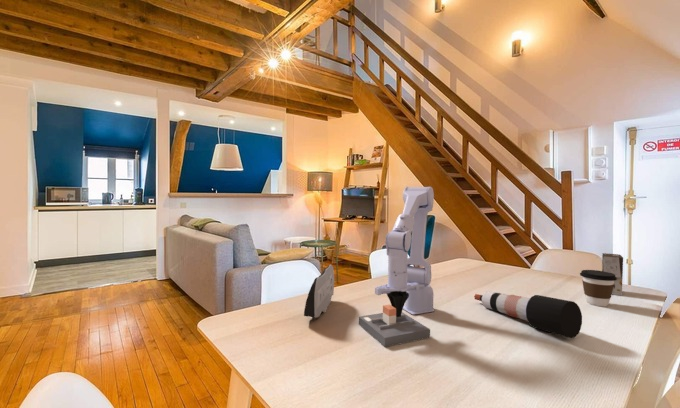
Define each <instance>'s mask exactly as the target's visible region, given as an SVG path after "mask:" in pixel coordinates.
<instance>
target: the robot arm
mask: <svg viewBox="0 0 680 408" xmlns="http://www.w3.org/2000/svg"><path fill="white" fill-rule="evenodd" d="M434 199H435V194H434V188H433V187H432V186H405V187H404V189H403V191H402V200H403V202H404V205H403V211H402V213H400V214H399V215H398V216H397V218H396V220H395V222H394V225H393V228H392V230H390V231H389V232H387V233H386V236H385V241H384V242H385V244H384V245H385V248H386V255H387V256H388V257H387V259H388V260H387V261H388V262H387V263H388V266H387V271H388V272H387V284H383V285H379V286H375V287H374V294H375V295H377V296H381V295H385V294H386V295H387V298H388V299H389V302H390V305H391V306H393V307H394V308H396V317H401V313H402V312H403V310H404V311H406V312H408V313H409V314H411V315H413V316H414V315H420V314H427V313H432V312H435V309H434V289H433V287H432V286H431V285H430V284H431V283H432V265H431V263H430V262H429V261H428V260H427V259H426V258H425V246H426V245H425V244H426V233H427V232H426V231H427V219H428V214H429V213H431V211H433V208H434V201H435V200H434ZM409 250H410V256H409V257H408V255H409Z"/></svg>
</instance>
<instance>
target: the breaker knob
mask: <svg viewBox="0 0 680 408" xmlns="http://www.w3.org/2000/svg"><path fill="white" fill-rule="evenodd" d="M382 313H383V321H384V322H385V323H387V324H392V323H396V308H394V307H393V306H392V305H391V304H385V305H382Z"/></svg>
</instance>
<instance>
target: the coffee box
mask: <svg viewBox="0 0 680 408" xmlns="http://www.w3.org/2000/svg"><path fill="white" fill-rule="evenodd" d="M601 254H602V255H601V258H602V259H601V271H604V272H609V273H612V274H614V275H615V277H616V278H617V280H615V281H614V287H613V291H612V296H613V295H614V296H618V297H619V296H623V295H622V294H623V277H624V276H623V273H624V257H623V255H622V254H617V253H606V252H604V253H601Z"/></svg>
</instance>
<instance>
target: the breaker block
mask: <svg viewBox="0 0 680 408" xmlns="http://www.w3.org/2000/svg"><path fill="white" fill-rule="evenodd" d="M358 325H359V326H360V327H361V328H362V329H363V330H364V331H365V332H366V333H368V334H369V335H370V336H371V337H372V336H373V337H372V338H374V339H375V340H376V341H377V342H378V343H379V344H380V343H381V346H382V347H384V348H387V347H392V346H396V345H401V344H407V343H412V342H417V341H421V340H426V339H430V338H431V329H430V328H429V327H427V326H425V325H424V324H422V323H421V322H419V321H417V320H415V319H414V318H413V317H411V316H409V315H408V314H406V313H404V312H403V311H402V313H401V317H396V323H392V324H387V323H385V322H384V321H383V312H380V313H379V312H378V313H372V314H368V315H362V316H361V315H360V316H358Z"/></svg>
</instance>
